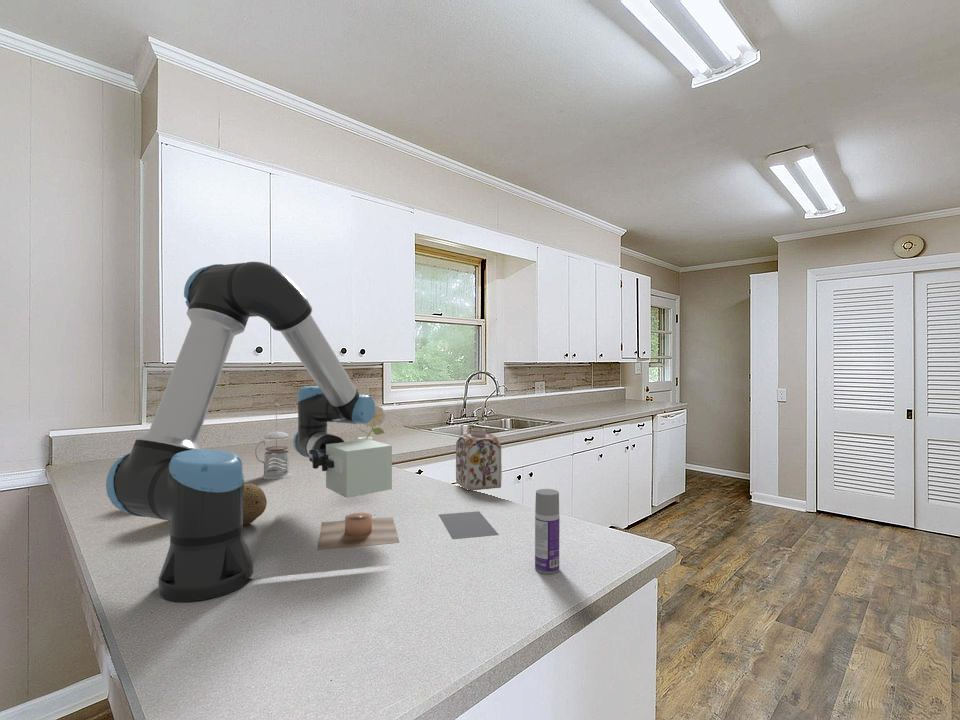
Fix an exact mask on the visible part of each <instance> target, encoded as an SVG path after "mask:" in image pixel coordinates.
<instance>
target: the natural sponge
mask: <svg viewBox="0 0 960 720" xmlns="http://www.w3.org/2000/svg"><path fill="white" fill-rule="evenodd" d="M267 504H268V502H267V497H266V494H265V492H264V490H263V489H262V488H261V487H260V486H258V485H257V484H253V483H245V484H244V489H243V526H247V525H251V524H252V523H253V522H254V521H255V520H256V519H258V518H259V517H260V516H261V515H263V514H264V512H265V511H266V508H267Z"/></svg>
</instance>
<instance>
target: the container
mask: <svg viewBox="0 0 960 720" xmlns="http://www.w3.org/2000/svg"><path fill="white" fill-rule="evenodd" d="M534 507H535V509H534V510H535V511H534V512H535V514H534V534H535V535H534V569H535V571H536V572H537V573H540V574H542V575H543V574H544V575H554V574H557V573H558V572H559V571H560V492H559V491H558V490H556V489H551V488H540V489H537V490H536V491H535V506H534Z"/></svg>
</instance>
